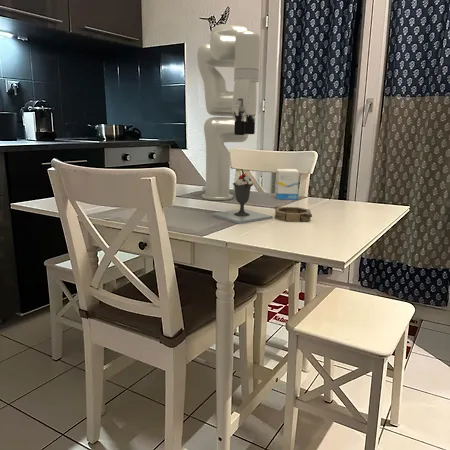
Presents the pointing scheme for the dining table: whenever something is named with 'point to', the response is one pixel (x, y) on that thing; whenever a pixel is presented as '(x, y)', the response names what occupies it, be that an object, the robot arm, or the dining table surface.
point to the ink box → (287, 184)
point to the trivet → (242, 219)
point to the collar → (292, 214)
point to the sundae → (242, 192)
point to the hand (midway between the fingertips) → (244, 134)
